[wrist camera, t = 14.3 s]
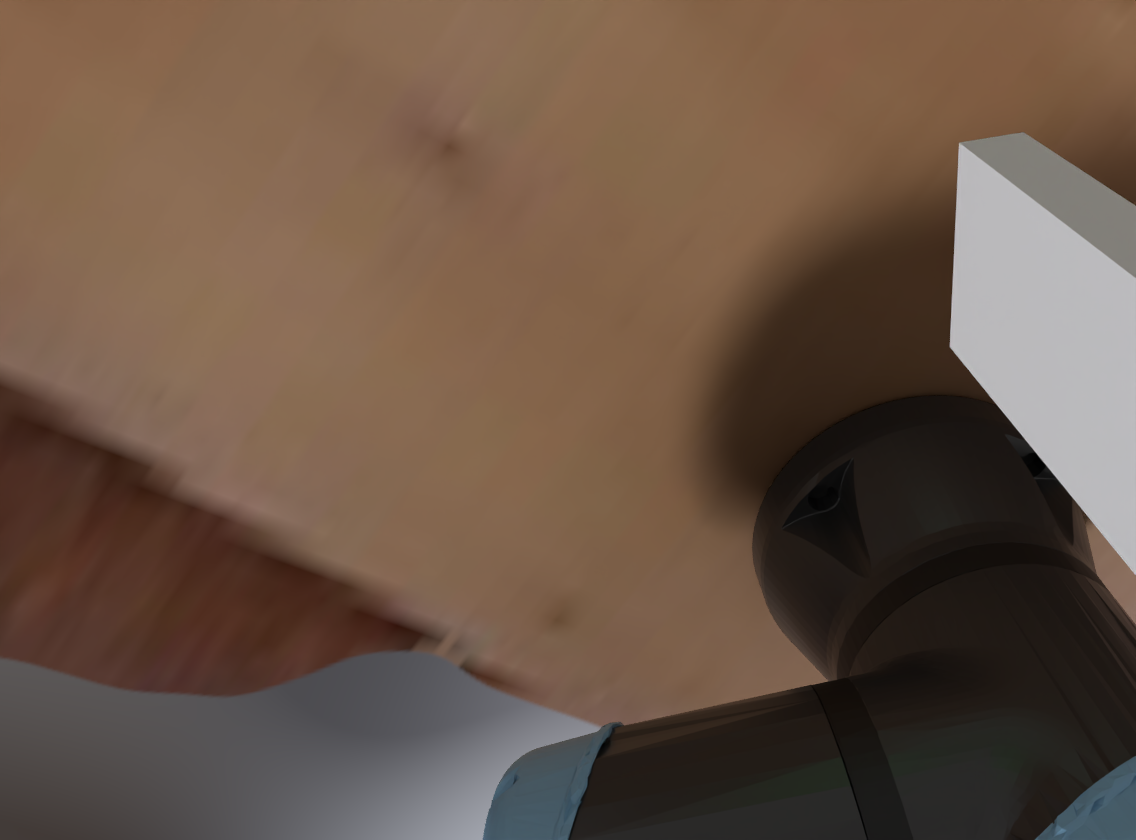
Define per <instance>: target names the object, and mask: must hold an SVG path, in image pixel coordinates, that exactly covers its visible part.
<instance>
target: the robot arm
mask: <svg viewBox="0 0 1136 840" xmlns="http://www.w3.org/2000/svg"><path fill="white" fill-rule="evenodd" d="M950 348H951V349H952V350H953V351H954V353H955V354H956V355H957V356H958V358H959V359H960V360H961V361H962V363H963V364H964V365H965V366H966V367H967V369H968V370H969V371H970V372H971V374H972V375H973V376H974V377H975V378H976V380H977V381H978V382H979V383H980V385H981V386H982V387H983V388H984V390H985V391H986V392H987V393H988V394H989V396H990V397H991V398H992V399H993V401H994V402H995V403H996V404H997V405H998V406H995V405H993V404H990V403H987V402H983V401H980V400H975V399H971V398H964V397H957V396H921V397H913V398H907V399H901V400H896V401H892V402H888V403H885V404H881V405H878V406H875V407H872V408H869V409H867V410H864V411H862V412H859V413H857V414H855V415H853V416H851V417H848V418H847V419H845V420H843V421H841V422H839V423H837V424H836V425H834V426H832V427H831V428H829V429H827V430H826V431H824V432H823V433H822V434H820V435H819V436H817V437H816V438H815V439H813V440H812V441H811V442H810V443H808V444H807V445H806V446H805V447H804V448H803V449H801V450H800V451H799V452H798V453H797V454H796V455H795V456H794V457H793V458H792V459H791V460H790V461H789V462H788V464H787V465H786V466H785V467H784V468H783V470H782V471H781V472H780V473H779V475H778V476H777V478H776V479H775V480H774V482H773V484H772V485H771V487H770V488H769V490H768V492H767V494H766V496H765V498H764V500H763V502H762V504H761V507H760V510H759V512H758V515H757V519H756V523H755V527H754V533H753V543H752V550H753V562H754V567H755V571H756V575H757V578H758V581H759V584H760V587H761V590H762V592H763V595H764V598H765V601H766V604H767V606H768V609H769V611H770V613H771V615H772V616H773V618H774V620H775V621H776V623H777V625H778V626H779V628H780V629H781V630H782V632H783V633H784V634H785V635H786V636H787V638H788V639H789V640H790V641H791V642H792V643H793V644H794V645H795V646H796V647H797V648H798V649H799V650H800V651H801V652H802V653H803V655H804V656H805V657H806V658H807V659H808V660H809V661H810V662H811V663H812V664H813V665H814V666H815V667H816V668H817V669H818V670H819V671H820V672H821V673H822V675H823V676H824V677H825V678H826V679H827V680H828V682H824V683H819V684H815V685H809V686H804V687H800V688H795V689H790V690H786V691H781V692H777V693H772V694H767V695H763V696H758V697H754V698H749V699H744V700H740V701H735V702H731V703H726V704H721V705H717V706H712V707H708V708H703V709H698V710H694V711H689V712H685V713H680V714H675V715H671V716H666V717H662V718H657V719H652V720H648V721H643V722H639V723H634V724H629V725H625V726H624V725H623V724H622V723H621V722H612V723H609V724H606V725H604V726H603V727H602V728H601V729H600V730H599V731H598V732H595V733H591V734H588V735H584V736H580V737H577V738H573V739H570V740H566V741H562V742H559V743H555V744H551V745H548V746H544V747H541V748H537V749H534V750H532V751H530V752H528V753H526V754H525V755H523V756H522V757H520V758H519V759H518V760H517V761H515V762H514V763H513V764H512V765H511V766H510V768H509V769H508V770H507V771H506V773H505V774H504V776H503V778H502V779H501V781H500V782H499V784H498V786H497V789H496V791H495V794H494V797H493V800H492V804H491V808H490V809H489V812H488V816H487V819H486V824H485V829H484V835H483V840H1136V625H1135V623H1134V622H1133V621H1132V620H1131V618H1130V617H1129V616H1128V614H1127V613H1126V612H1125V611H1124V609H1123V608H1122V607H1121V605H1120V604H1119V603H1118V602H1117V600H1116V599H1115V598H1114V597H1113V596H1112V594H1111V593H1110V592H1109V590H1108V589H1107V588H1106V587H1105V585H1104V584H1103V583H1102V581H1101V580H1100V579H1099V577H1098V576H1097V574H1096V570H1095V565H1094V561H1093V557H1092V552H1091V548H1090V544H1089V540H1088V535H1087V531H1086V527H1085V522H1084V518H1083V514H1082V510H1083V511H1084V512H1085V514H1086V515H1087V516H1088V517H1089V518H1090V520H1091V521H1092V522H1093V523H1094V525H1095V526H1096V527H1097V528H1098V529H1099V531H1100V532H1101V533H1102V534H1103V536H1104V537H1105V538H1106V539H1107V541H1108V542H1109V543H1110V544H1111V545H1112V547H1113V548H1114V549H1115V550H1116V552H1117V553H1118V554H1119V555H1120V556H1121V558H1122V559H1123V560H1124V561H1125V563H1126V564H1127V565H1128V566H1129V568H1130V569H1131V570H1132V571H1133V572H1134V574H1135V575H1136V206H1135V205H1134V204H1132V203H1131V202H1129V201H1128V200H1126V199H1125V198H1123V197H1122V196H1120V195H1118V194H1117V193H1115V192H1114V191H1112V190H1111V189H1109V188H1108V187H1106V186H1105V185H1103V184H1102V183H1100V182H1099V181H1097V180H1096V179H1094V178H1093V177H1091V176H1089V175H1088V174H1086V173H1085V172H1083V171H1082V170H1080V169H1079V168H1077V167H1076V166H1074V165H1073V164H1071V163H1070V162H1068V161H1067V160H1065V159H1064V158H1062V157H1060V156H1059V155H1057V154H1056V153H1054V152H1053V151H1051V150H1050V149H1048V148H1047V147H1045V146H1044V145H1042V144H1041V143H1039V142H1038V141H1036V140H1035V139H1033V138H1031V137H1030V136H1028V135H1027V134H1025V133H1024V132H1022V133H1016V134H1010V135H1004V136H997V137H991V138H985V139H979V140H973V141H967V142H961V143H959V157H958V179H957V201H956V222H955V244H954V266H953V287H952V309H951V331H950ZM1081 509H1082V510H1081Z"/></svg>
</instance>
